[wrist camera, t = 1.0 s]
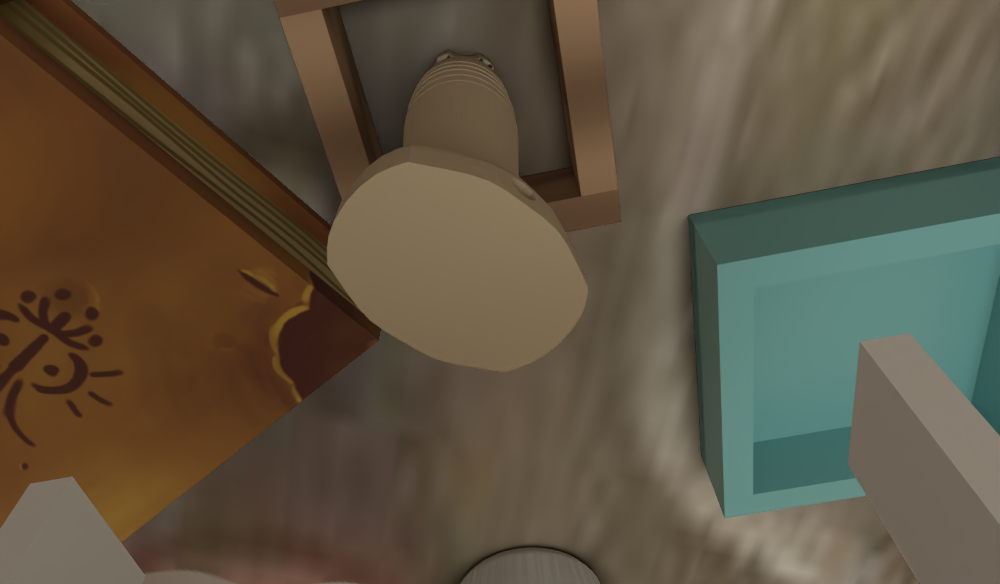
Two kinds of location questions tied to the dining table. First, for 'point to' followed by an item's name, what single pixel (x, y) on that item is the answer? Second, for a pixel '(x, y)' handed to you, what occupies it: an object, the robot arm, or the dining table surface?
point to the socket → (569, 192)
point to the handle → (458, 232)
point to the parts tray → (835, 320)
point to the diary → (143, 278)
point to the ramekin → (531, 568)
